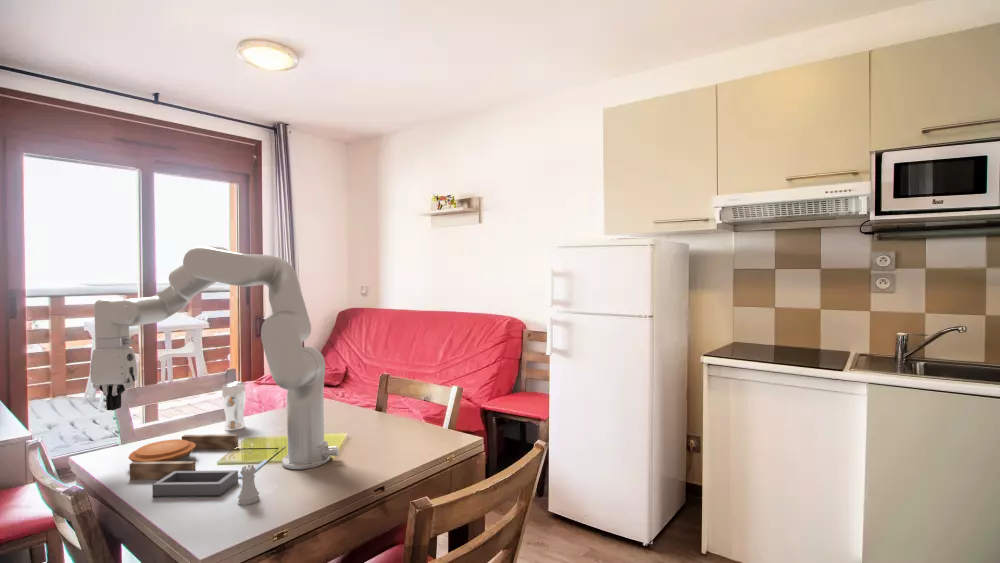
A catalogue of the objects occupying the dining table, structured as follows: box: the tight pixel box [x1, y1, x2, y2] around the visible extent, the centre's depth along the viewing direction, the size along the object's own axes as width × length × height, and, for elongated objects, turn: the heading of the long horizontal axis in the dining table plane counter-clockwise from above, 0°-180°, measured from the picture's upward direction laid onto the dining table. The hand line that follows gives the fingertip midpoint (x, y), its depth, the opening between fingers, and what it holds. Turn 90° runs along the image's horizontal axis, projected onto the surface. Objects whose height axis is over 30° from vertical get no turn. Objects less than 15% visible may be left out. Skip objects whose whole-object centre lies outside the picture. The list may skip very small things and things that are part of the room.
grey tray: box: [151, 469, 239, 498], centre depth 123 cm, size 16×8×3 cm, turn 90°
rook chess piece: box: [237, 464, 260, 506], centre depth 116 cm, size 4×4×8 cm
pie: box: [128, 438, 196, 463], centre depth 140 cm, size 15×16×5 cm
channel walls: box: [129, 433, 239, 480], centre depth 140 cm, size 16×22×4 cm
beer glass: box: [221, 381, 247, 432], centre depth 170 cm, size 7×7×15 cm
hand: (113, 408), depth 140 cm, fingers closed
